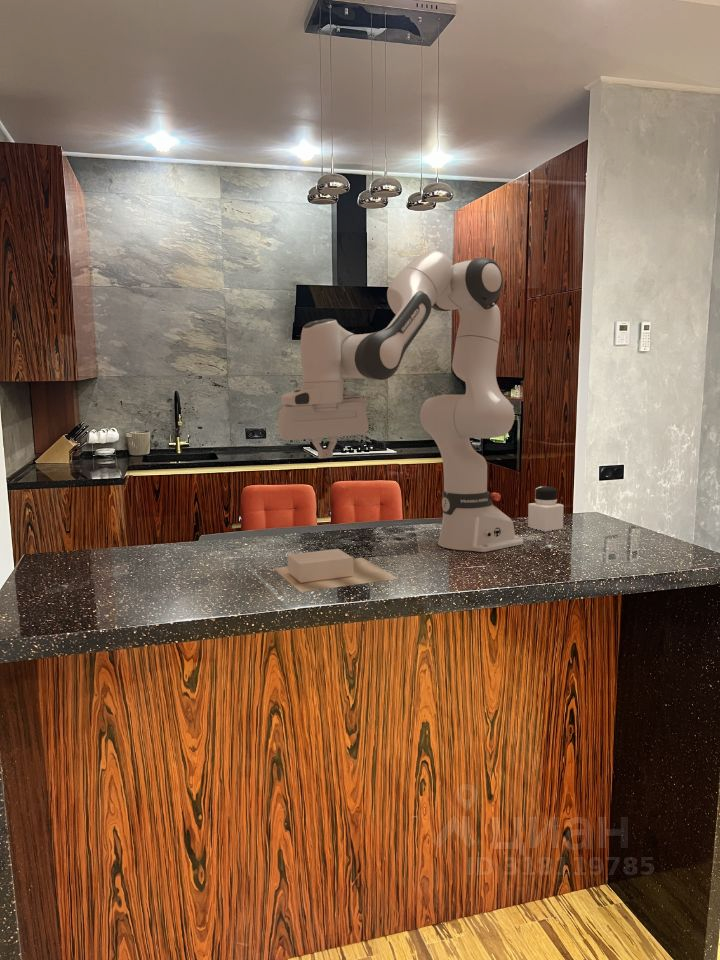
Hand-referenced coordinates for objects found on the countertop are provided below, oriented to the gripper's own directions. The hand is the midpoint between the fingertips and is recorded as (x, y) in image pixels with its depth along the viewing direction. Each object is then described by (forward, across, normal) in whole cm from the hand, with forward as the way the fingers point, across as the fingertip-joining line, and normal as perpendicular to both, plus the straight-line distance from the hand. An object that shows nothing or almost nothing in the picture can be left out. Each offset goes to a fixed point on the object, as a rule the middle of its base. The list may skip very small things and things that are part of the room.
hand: (325, 457), depth 156 cm
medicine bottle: (+28, -72, -15) cm, 79 cm away
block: (+23, -2, +5) cm, 24 cm away
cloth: (+26, +1, +5) cm, 27 cm away
